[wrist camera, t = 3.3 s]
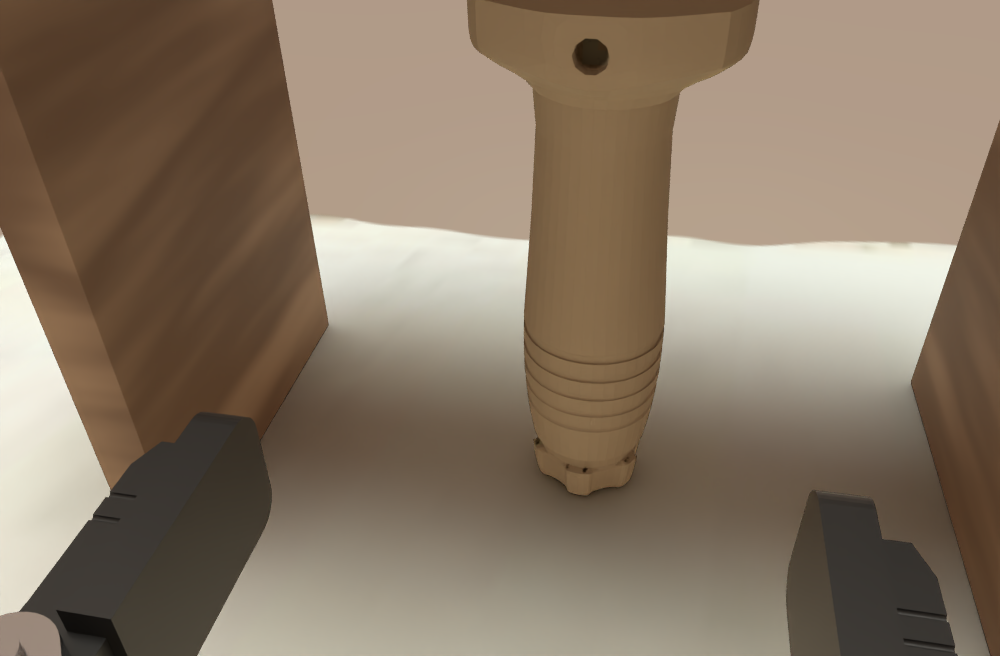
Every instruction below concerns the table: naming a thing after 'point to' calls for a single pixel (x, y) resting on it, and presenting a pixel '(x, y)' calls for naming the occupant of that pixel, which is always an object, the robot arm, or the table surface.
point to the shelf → (296, 242)
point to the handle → (601, 205)
